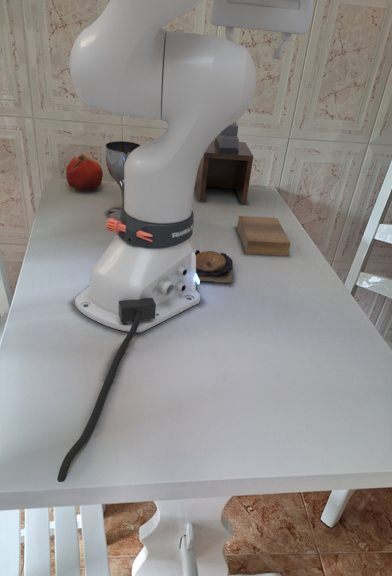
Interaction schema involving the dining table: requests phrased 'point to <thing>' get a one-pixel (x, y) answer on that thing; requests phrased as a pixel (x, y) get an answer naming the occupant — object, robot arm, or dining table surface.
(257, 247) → the brown wooden block
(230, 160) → the open box
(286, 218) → the dining table surface
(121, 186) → the wine glass
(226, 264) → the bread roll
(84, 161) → the red pomegranate
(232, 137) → the grey notched block
